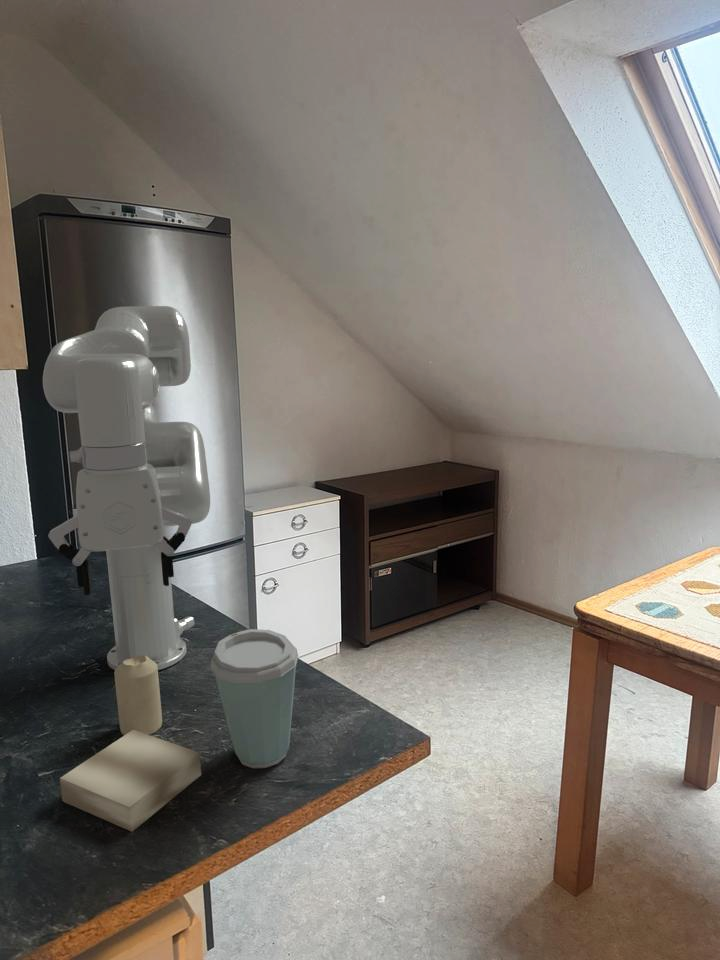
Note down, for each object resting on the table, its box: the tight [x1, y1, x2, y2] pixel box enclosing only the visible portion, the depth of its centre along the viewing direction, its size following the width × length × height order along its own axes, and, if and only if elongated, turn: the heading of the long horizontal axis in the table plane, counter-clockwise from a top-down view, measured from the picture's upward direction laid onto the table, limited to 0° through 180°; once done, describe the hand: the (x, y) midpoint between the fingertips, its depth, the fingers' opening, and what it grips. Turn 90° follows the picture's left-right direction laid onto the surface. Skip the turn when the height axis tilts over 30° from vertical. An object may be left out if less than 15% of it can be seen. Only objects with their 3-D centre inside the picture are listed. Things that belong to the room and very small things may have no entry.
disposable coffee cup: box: [209, 628, 299, 769], centre depth 86 cm, size 11×11×15 cm
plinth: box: [59, 730, 202, 833], centre depth 81 cm, size 11×11×3 cm
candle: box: [113, 655, 163, 736], centre depth 93 cm, size 6×6×10 cm
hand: (127, 587), depth 90 cm, fingers open, 9 cm apart
